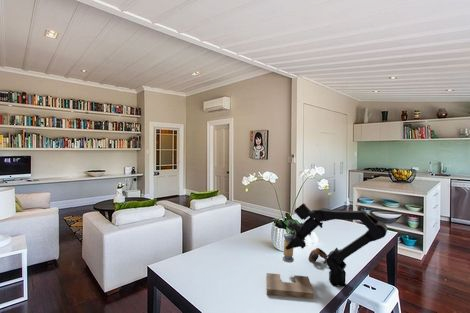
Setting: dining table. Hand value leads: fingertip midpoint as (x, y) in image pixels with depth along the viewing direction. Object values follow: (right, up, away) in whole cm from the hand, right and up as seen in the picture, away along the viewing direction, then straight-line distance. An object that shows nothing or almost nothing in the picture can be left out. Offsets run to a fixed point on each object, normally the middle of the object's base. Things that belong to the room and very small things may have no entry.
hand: (285, 246), depth 128 cm
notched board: (-2, -14, -14) cm, 20 cm away
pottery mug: (+21, -14, +13) cm, 28 cm away
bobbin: (+1, -7, 0) cm, 7 cm away
